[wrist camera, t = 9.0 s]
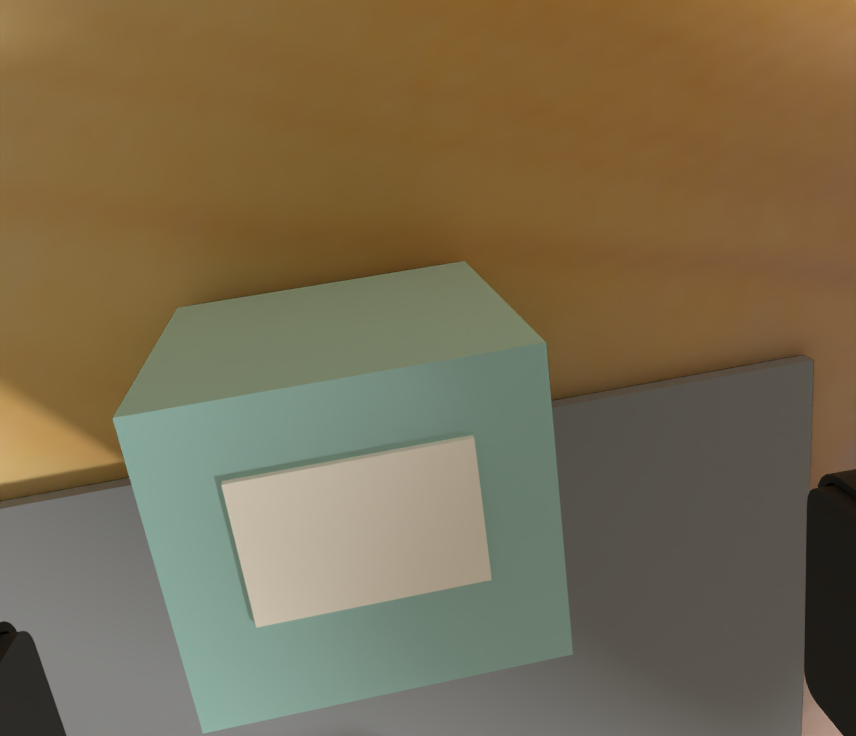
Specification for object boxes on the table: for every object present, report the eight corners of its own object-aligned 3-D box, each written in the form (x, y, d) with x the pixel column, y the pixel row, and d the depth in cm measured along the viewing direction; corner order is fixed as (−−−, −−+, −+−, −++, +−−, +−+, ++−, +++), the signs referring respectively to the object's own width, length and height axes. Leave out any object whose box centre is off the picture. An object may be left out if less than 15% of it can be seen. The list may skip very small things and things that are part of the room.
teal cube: (465, 260, 17) (548, 345, 11) (491, 487, 19) (575, 658, 13) (177, 308, 16) (110, 421, 11) (233, 536, 18) (201, 739, 12)
